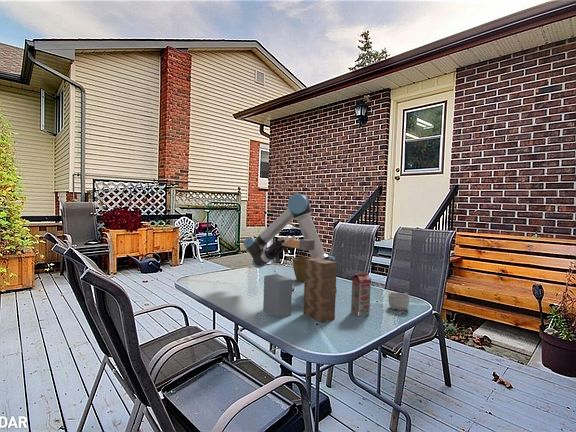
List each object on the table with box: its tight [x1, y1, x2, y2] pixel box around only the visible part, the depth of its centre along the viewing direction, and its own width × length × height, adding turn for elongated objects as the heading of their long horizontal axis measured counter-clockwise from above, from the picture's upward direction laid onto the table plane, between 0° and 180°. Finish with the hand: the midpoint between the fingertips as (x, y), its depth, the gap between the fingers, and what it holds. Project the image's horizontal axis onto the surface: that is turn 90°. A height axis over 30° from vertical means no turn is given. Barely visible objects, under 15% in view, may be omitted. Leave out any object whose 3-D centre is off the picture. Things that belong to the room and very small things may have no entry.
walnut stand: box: [302, 257, 338, 324], centre depth 163 cm, size 14×8×28 cm, turn 38°
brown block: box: [278, 236, 315, 251], centre depth 178 cm, size 24×6×5 cm, turn 38°
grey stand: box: [262, 274, 293, 319], centre depth 167 cm, size 13×8×18 cm, turn 38°
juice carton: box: [350, 270, 372, 317], centre depth 169 cm, size 7×7×22 cm
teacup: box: [387, 291, 410, 311], centre depth 181 cm, size 14×11×8 cm
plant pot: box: [292, 256, 311, 283], centre depth 238 cm, size 15×15×16 cm
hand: (291, 237), depth 180 cm, fingers closed on brown block, 4 cm apart
